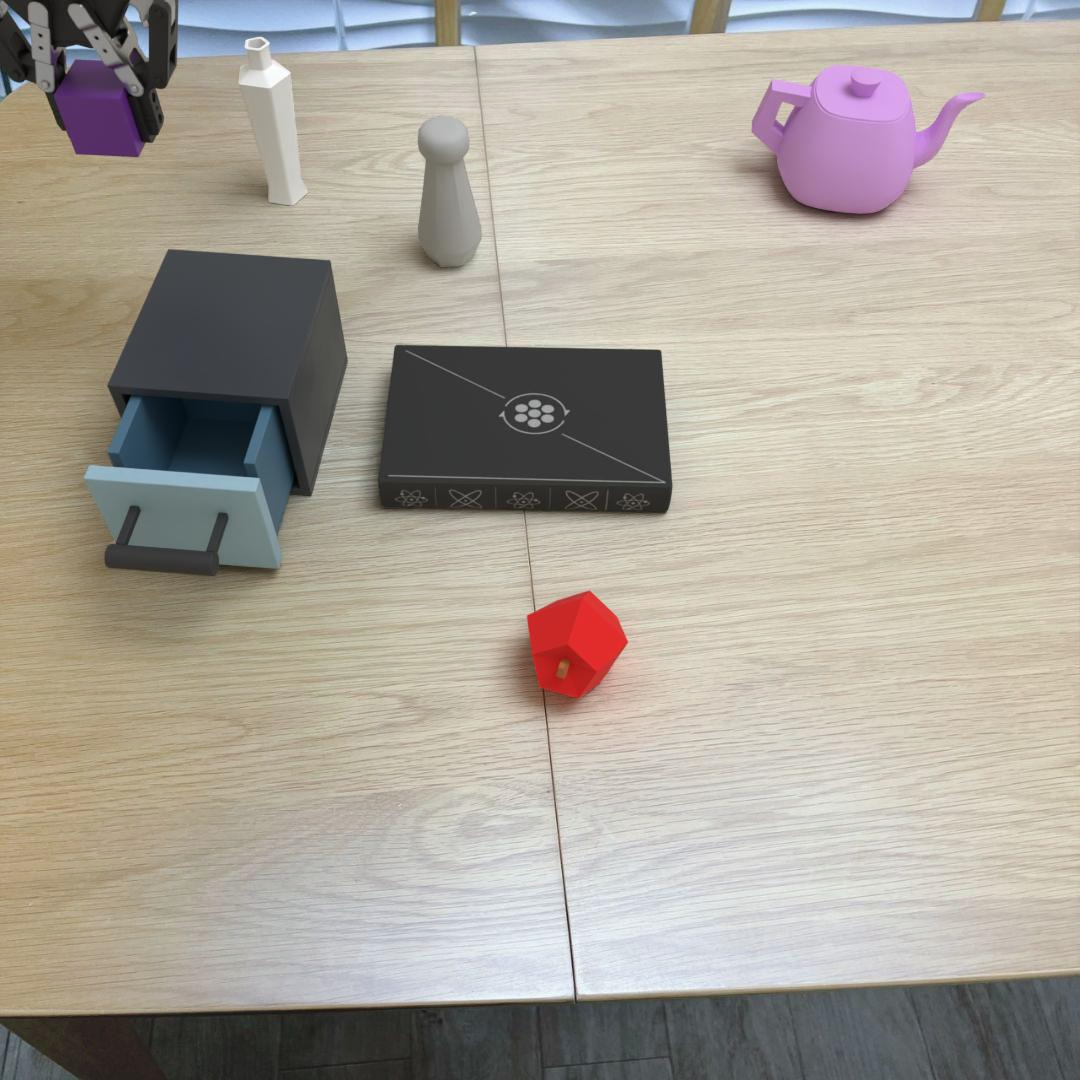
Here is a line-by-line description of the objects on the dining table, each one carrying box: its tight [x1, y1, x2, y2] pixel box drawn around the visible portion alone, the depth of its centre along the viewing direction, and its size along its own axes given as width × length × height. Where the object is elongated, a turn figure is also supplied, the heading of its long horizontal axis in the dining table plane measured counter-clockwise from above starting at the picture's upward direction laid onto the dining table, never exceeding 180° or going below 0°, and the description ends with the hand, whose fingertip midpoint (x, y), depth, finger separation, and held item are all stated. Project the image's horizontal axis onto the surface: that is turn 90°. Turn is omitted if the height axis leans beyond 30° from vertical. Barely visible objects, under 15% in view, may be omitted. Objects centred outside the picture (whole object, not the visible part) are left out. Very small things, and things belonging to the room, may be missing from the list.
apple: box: [526, 589, 629, 699], centre depth 72 cm, size 7×7×8 cm
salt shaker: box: [417, 115, 483, 268], centre depth 95 cm, size 6×6×13 cm
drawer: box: [83, 395, 296, 578], centre depth 77 cm, size 18×11×9 cm, turn 175°
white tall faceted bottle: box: [237, 36, 309, 206], centre depth 99 cm, size 5×4×15 cm
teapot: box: [750, 64, 987, 215], centre depth 103 cm, size 13×20×11 cm
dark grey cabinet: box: [106, 248, 349, 497], centre depth 83 cm, size 15×13×11 cm
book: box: [377, 344, 674, 513], centre depth 85 cm, size 22×15×3 cm
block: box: [54, 58, 146, 158], centre depth 76 cm, size 4×4×4 cm
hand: (114, 133), depth 77 cm, fingers closed on block, 4 cm apart
